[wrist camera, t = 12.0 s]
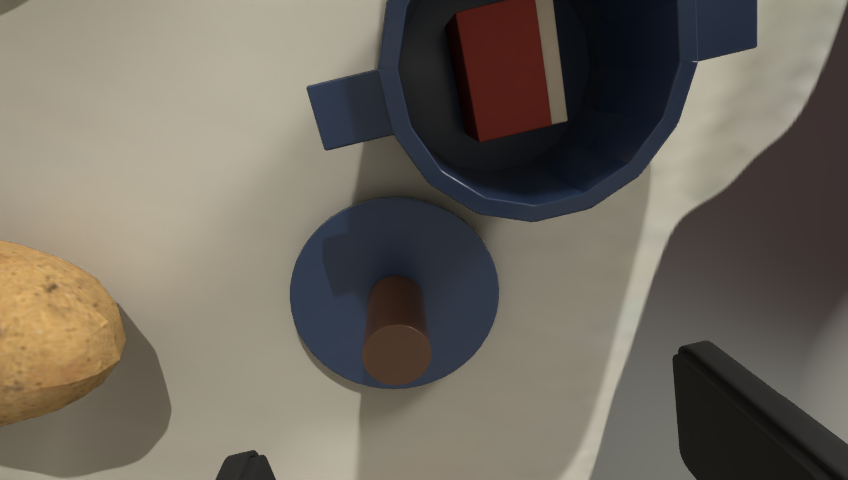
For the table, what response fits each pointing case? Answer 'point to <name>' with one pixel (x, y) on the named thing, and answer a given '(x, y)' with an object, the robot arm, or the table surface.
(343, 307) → the lid
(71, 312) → the potato
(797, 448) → the robot arm
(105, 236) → the table surface
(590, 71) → the pot
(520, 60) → the meat
